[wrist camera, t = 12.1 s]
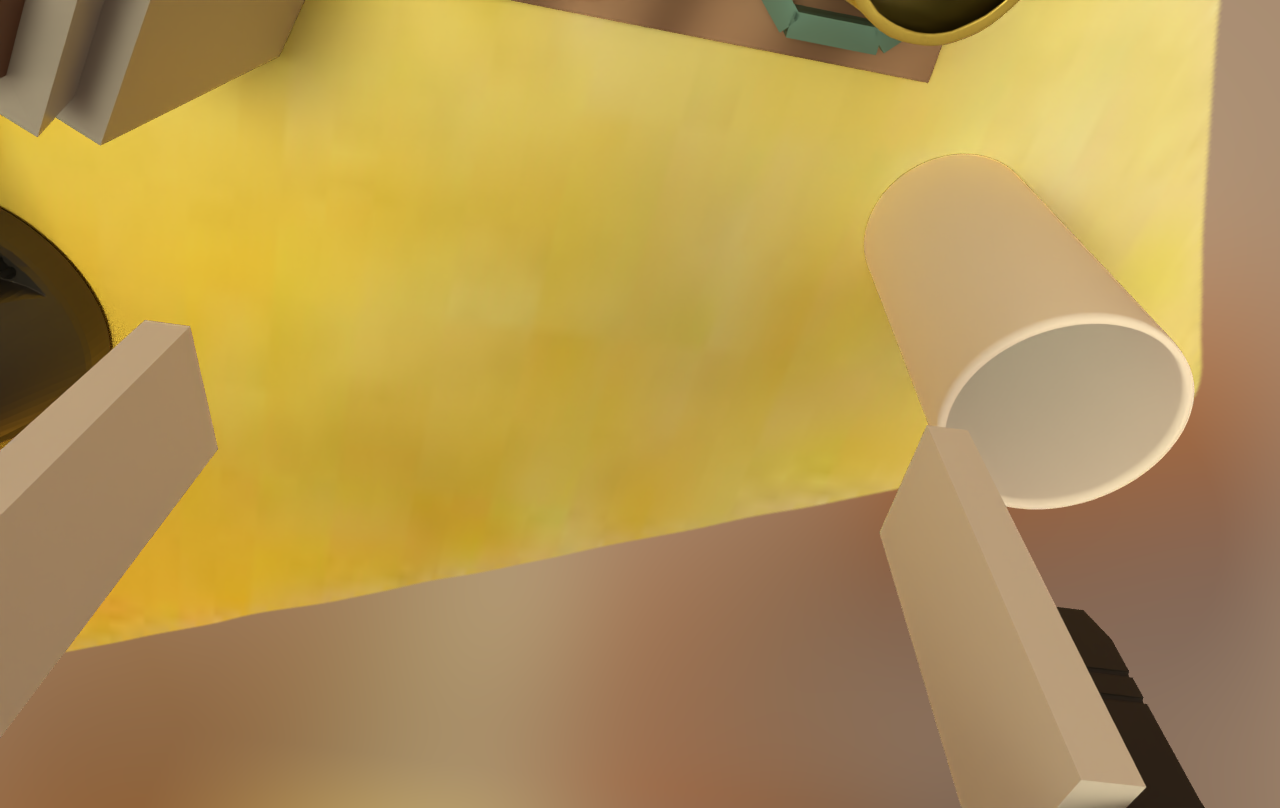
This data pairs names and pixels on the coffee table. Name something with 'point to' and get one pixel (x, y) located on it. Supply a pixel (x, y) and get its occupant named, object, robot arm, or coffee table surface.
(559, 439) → the coffee table surface
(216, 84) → the perfume bottle
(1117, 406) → the cup
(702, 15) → the board
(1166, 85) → the coffee table surface
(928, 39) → the vase
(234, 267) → the coffee table surface
